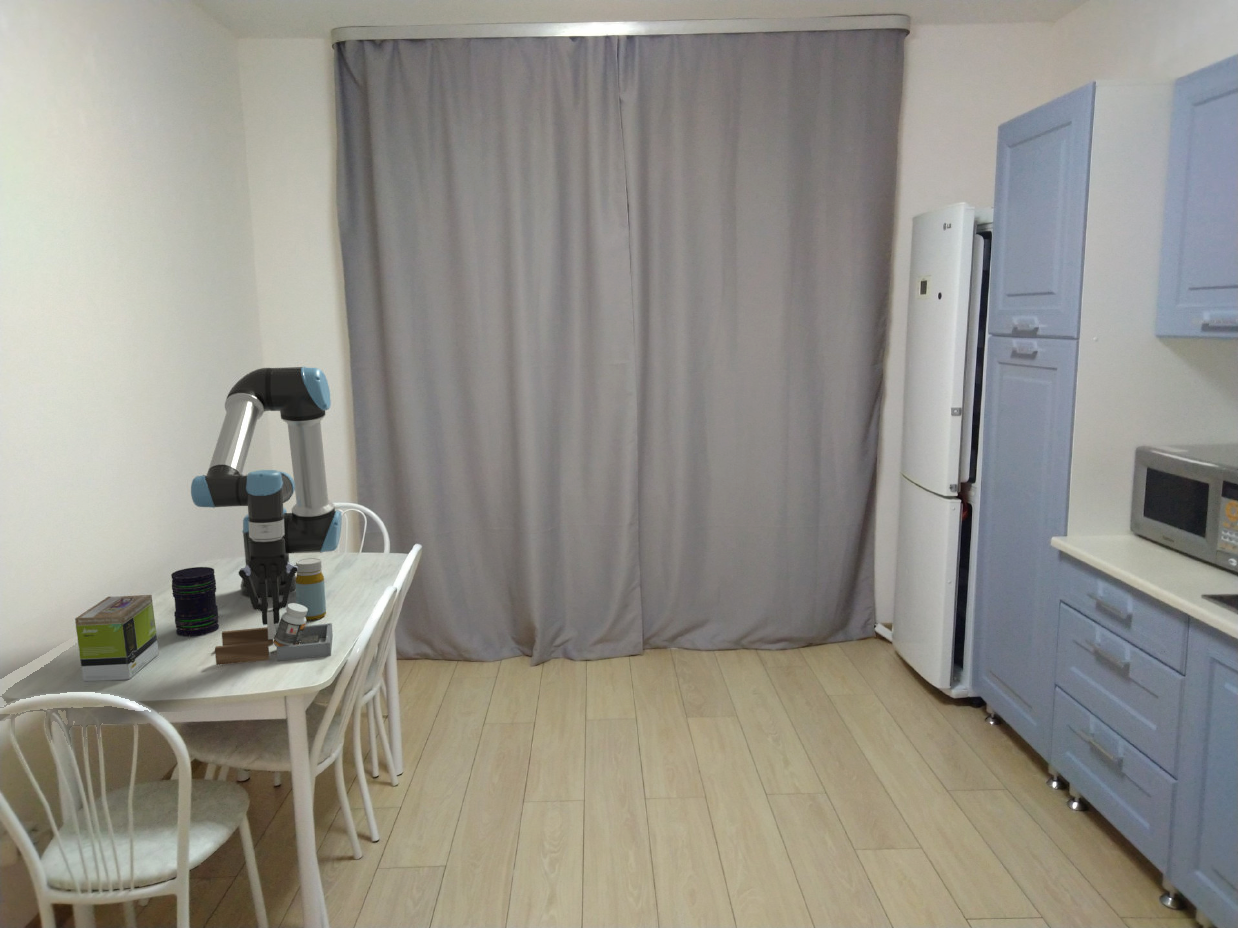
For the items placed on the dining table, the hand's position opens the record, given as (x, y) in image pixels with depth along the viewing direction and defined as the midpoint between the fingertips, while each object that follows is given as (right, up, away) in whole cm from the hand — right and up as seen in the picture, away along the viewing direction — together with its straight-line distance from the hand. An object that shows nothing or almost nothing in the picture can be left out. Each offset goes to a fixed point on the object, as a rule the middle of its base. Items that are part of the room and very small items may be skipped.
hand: (271, 637), depth 204 cm
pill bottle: (+2, -3, +1) cm, 4 cm away
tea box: (-30, -5, -9) cm, 32 cm away
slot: (-6, -4, -1) cm, 7 cm away
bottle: (+1, 0, +25) cm, 25 cm away
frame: (+7, -3, +3) cm, 8 cm away
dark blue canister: (-25, -1, +16) cm, 29 cm away
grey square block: (+8, -3, +3) cm, 9 cm away
